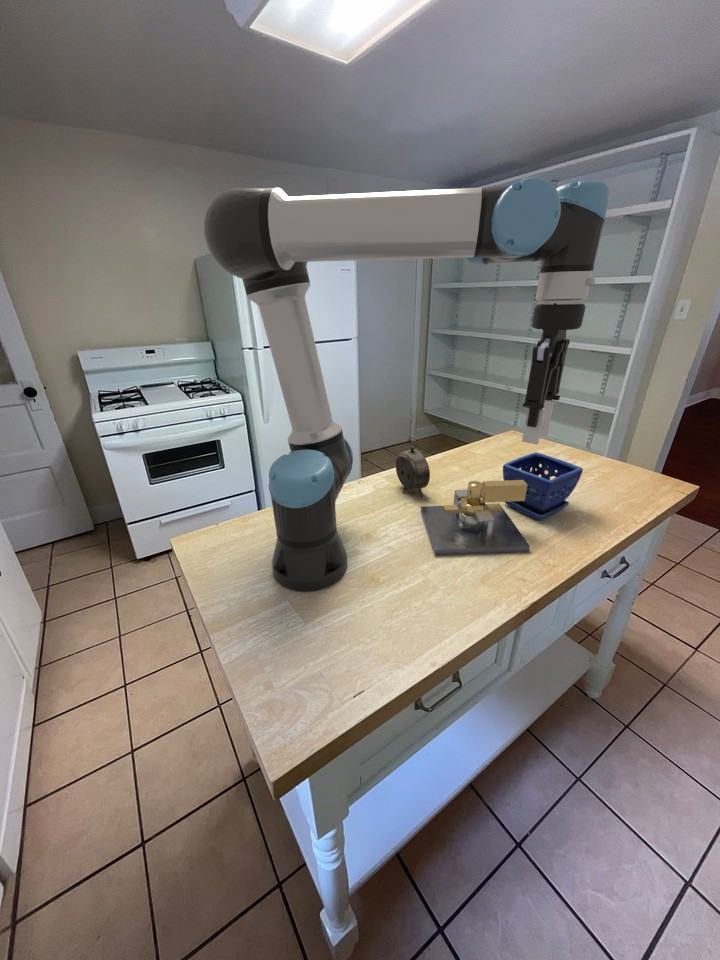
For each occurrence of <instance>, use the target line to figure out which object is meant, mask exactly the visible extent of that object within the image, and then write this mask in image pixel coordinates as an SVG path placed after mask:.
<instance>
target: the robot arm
mask: <svg viewBox="0 0 720 960" xmlns="http://www.w3.org/2000/svg"><path fill="white" fill-rule="evenodd" d="M609 194H610V189H609V185H607V183H605V182H604V181H601V180H581V181H578V182H570V183H565V184H563V185H560V186H558V187H555V186H554V184H553V183H552V182H551V181H549V180H547V179H546V178H543V177H539V176H530V177H525V178H522V179H520V180H518V181H515V182H513V183H512V184H510V185H506V186H505V185H503V186H489V187H466V188H464V187H462V188H441V189H424V190H423V189H422V190H405V191H403V190H402V191H401V190H400V191H383V192H382V191H380V192H361V193H360V192H358V193H340V194H339V193H338V194H322V195H320V194H319V195H301V196H300V195H299V196H298V195H297V196H288V194H287V193H286V192H285V191H284V190H283V189H282V188H280V187H269V188H268V187H267V188H261V187H260V188H257V187H255V188H254V187H253V188H252V187H249V188H247V187H245V188H244V187H243V188H240V187H239V188H238V187H236V188H229V189H227V190H224V191H222V192H220V193H219V194H218V195H216V196H215V197H213V199H212V200H211V202H210V203H209V205H208V207H207V210H206V212H205V214H204V221H203V233H204V234H203V235H204V239H205V243H206V245H207V248H208V251H209V253H210V254H211V256H212V258H213V259H214V260H215V262H216V263H217V264H218V265H219V266H220V267H221V268H222V269H223V270H224V271H226V272H227V273H229V274H230V275H233V276H234V277H237V278H239V279H241V280H242V283H243V286H244V287H243V288H244V290H245V293H246V298H248V300H250V301H251V302H253V303H254V304H255V305H257V307H258V309H259V312H260V316H261V320H262V324H263V327H264V331H265V335H266V338H267V342H268V345H269V349H270V352H271V353H270V354H271V356H272V360H273V363H274V364H273V365H274V367H275V372H276V374H277V378H278V382H279V385H280V388H281V392H282V393H281V394H282V396H283V399H284V401H283V402H284V404H285V407H286V411H287V415H288V419H289V421H290V426H291V429H292V430H291V431H290V432H291V433H290V434H289V435H288V437H287V442H288V446H289V450H290V452H288V454H283V455H281V456H279V457H278V458H277V459H275V461H274V462H273V463H272V464H271V466H270V468H269V471H268V490H269V495H270V498H271V505H272V513H273V517H274V525H275V531H276V537H277V539H276V542H275V547H274V551H273V555H272V560H271V567H272V573H273V577H274V579H275V580H276V582H277V583H279V585H280V586H282V587H284V588H286V589H288V590H292V591H297V592H313V591H318V590H322V589H325V588H327V587H329V586H332V585H333V584H335V583H336V582H338V581H340V579H341V578H342V577H343V576H344V575H345V573H346V571H347V568H348V554H347V550H346V548H345V546H344V544H343V541H342V539H341V537H340V535H339V532H338V530H337V514H336V513H337V512H336V510H337V509H336V503H337V499H338V497H339V494H340V492H341V491H342V489H343V486H344V485H345V483H346V481H347V479H348V477H349V476H350V474H351V471H352V469H353V463H354V454H353V453H354V452H353V449H352V446H351V444H350V443H349V441H348V440H347V439H346V438H345V437H344V433H343V428H342V426H341V425H340V424H338V423H337V422H335V421H334V420H333V418H332V417H333V415H332V413H331V412H332V411H331V408H330V403H329V399H328V394H327V390H326V385H325V382H324V376H323V372H322V368H321V364H320V359H319V355H318V349H317V347H316V340H315V338H314V332H313V328H312V322H311V319H310V315H309V311H308V310H309V309H308V306H307V301H306V294H307V292H308V290H309V289H310V287H311V282H310V277H309V272H308V268H307V267H308V266H307V265H308V262H312V263H313V262H345V261H377V260H379V261H383V260H384V261H387V260H390V261H391V260H422V259H461V258H464V259H465V261H466V262H467V263H468V264H476V265H477V264H480V265H481V264H482V265H485V266H487V265H489V264H506V263H507V264H509V263H523V262H531V263H532V262H541V267H540V273H539V277H538V282H537V288H536V294H535V295H536V296H535V300H536V301H538V304H536V305H535V306H534V308H533V309H534V310H533V315H532V320H531V321H532V322H531V327H532V328H534V329H537V330H542V333H541V337H540V340H538V341H537V344H536V346H533V348H532V355H531V357H532V358H531V363H530V364H531V366H530V371H529V377H528V382H527V387H526V388H527V389H526V393H525V399H524V402H523V403H522V408H527V410H526V414H525V421H524V426H523V433H522V439H521V442H523V443H527V444H532V445H538V444H539V442H540V437H541V435H542V436H547V435H548V434H549V429H550V426H551V424H550V423H551V418H552V413H553V410H554V405H555V401H560V399H561V395H558V394H560V393H559V392H560V388H561V383H562V377H563V372H564V367H565V366H564V365H565V362H566V356H567V352H568V348H569V345H570V339H569V338H567V331H571V330H577V329H580V328H581V327H582V325H583V321H584V316H585V312H586V307H587V305H586V304H585V303H583V300H584V301H585V300H586V299H587V298H588V296H589V291H590V286H593V285H594V284H595V283H596V278H595V277H593V271H594V268H595V262H596V260H597V259H596V258H597V255H598V249H599V245H600V242H601V237H602V234H603V229H604V224H605V222H606V220H607V219H606V214H607V210H608V209H607V208H608V202H609ZM585 305H586V306H585Z"/></svg>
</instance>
